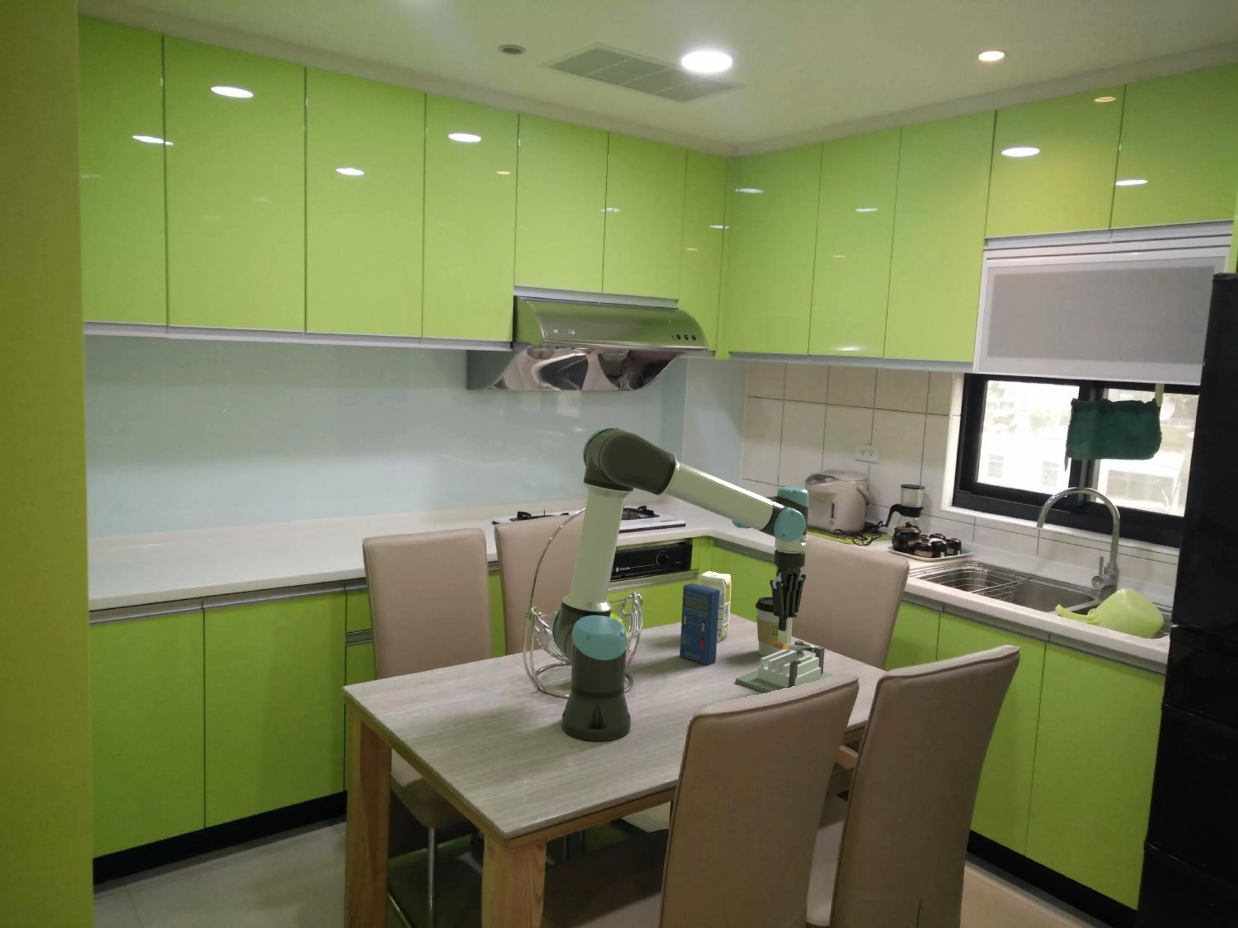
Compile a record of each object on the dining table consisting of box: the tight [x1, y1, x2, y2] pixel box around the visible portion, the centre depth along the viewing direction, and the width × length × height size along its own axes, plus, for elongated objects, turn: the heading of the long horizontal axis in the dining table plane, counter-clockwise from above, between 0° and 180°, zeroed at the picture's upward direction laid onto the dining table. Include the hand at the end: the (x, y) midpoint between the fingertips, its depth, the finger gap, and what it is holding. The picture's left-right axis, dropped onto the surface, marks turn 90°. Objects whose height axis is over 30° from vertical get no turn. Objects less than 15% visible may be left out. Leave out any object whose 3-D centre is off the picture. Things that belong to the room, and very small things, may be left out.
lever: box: [769, 641, 818, 654], centre depth 228 cm, size 17×4×2 cm, turn 137°
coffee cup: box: [755, 596, 784, 657], centre depth 250 cm, size 10×10×15 cm
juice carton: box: [697, 570, 732, 643], centre depth 261 cm, size 8×9×19 cm
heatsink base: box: [735, 639, 835, 694], centre depth 228 cm, size 22×18×9 cm
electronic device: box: [679, 582, 720, 666], centre depth 242 cm, size 10×5×20 cm, turn 48°
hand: (784, 642), depth 224 cm, fingers closed
